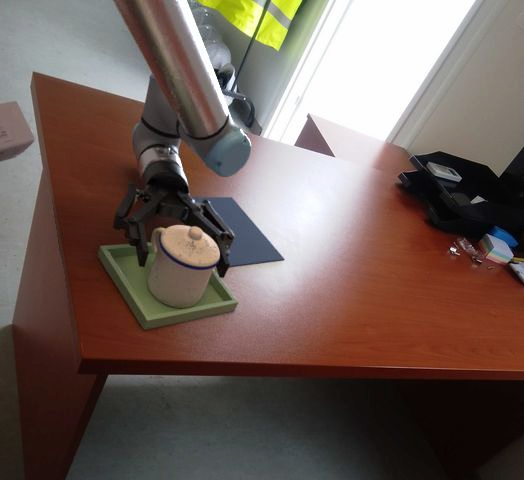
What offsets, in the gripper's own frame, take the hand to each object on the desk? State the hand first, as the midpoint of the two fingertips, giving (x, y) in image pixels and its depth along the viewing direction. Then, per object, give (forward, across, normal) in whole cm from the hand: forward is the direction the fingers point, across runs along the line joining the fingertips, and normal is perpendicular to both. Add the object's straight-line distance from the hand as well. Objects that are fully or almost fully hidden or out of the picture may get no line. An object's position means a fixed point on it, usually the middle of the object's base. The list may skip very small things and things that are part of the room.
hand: (186, 265), depth 65 cm
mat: (-22, +15, +7) cm, 27 cm away
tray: (-4, 0, +7) cm, 8 cm away
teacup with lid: (-4, 0, +7) cm, 8 cm away
